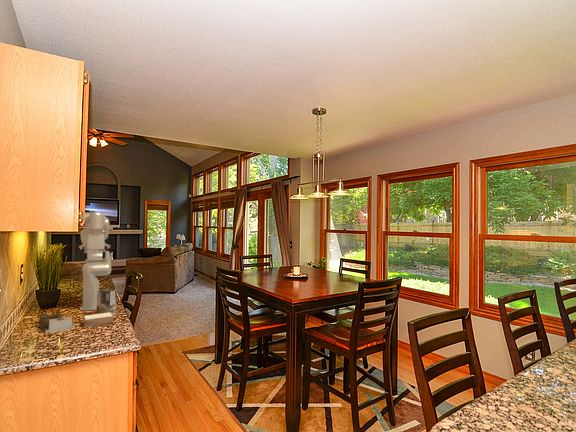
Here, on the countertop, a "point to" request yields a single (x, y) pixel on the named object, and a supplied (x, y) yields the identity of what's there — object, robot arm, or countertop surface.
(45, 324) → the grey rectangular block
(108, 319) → the stand
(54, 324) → the housing
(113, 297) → the coffee box
